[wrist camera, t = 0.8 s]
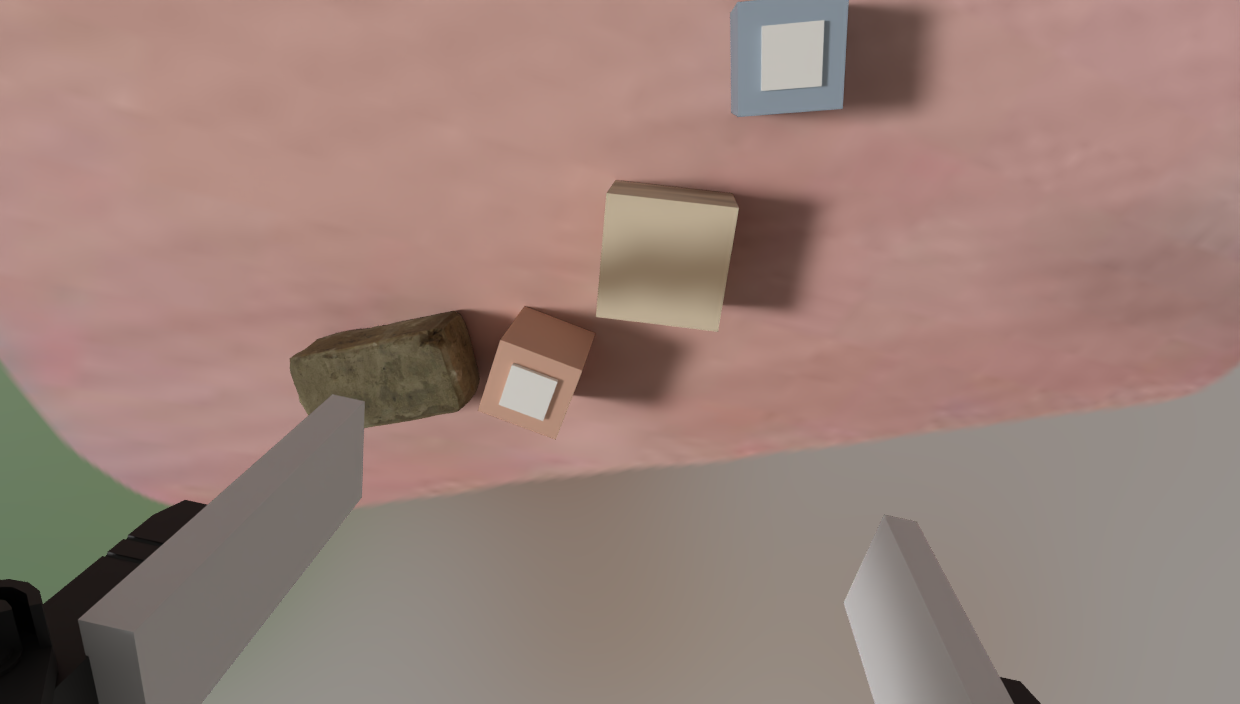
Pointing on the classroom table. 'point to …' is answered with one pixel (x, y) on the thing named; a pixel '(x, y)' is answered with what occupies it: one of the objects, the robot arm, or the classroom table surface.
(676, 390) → the classroom table surface
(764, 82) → the slate block
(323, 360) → the stone block
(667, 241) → the oak block
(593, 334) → the terracotta block
